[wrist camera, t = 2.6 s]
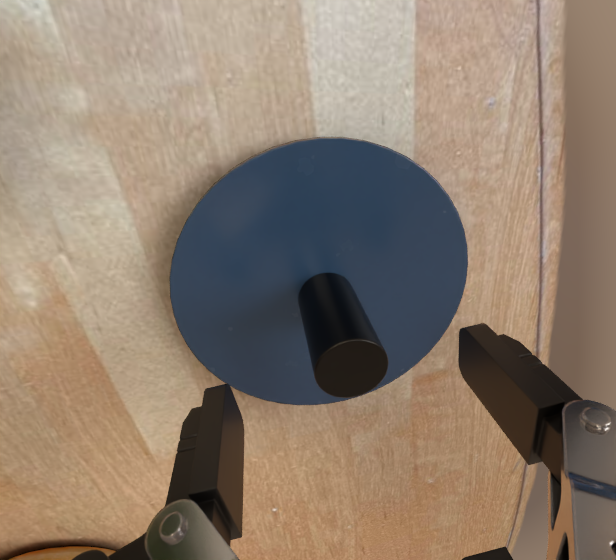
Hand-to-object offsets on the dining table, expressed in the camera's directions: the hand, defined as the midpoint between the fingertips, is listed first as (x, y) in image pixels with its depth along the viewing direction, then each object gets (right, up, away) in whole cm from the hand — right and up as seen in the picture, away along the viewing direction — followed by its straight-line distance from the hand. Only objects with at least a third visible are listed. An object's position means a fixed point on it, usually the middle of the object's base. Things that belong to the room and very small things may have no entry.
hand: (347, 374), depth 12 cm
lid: (-1, +3, +5) cm, 6 cm away
